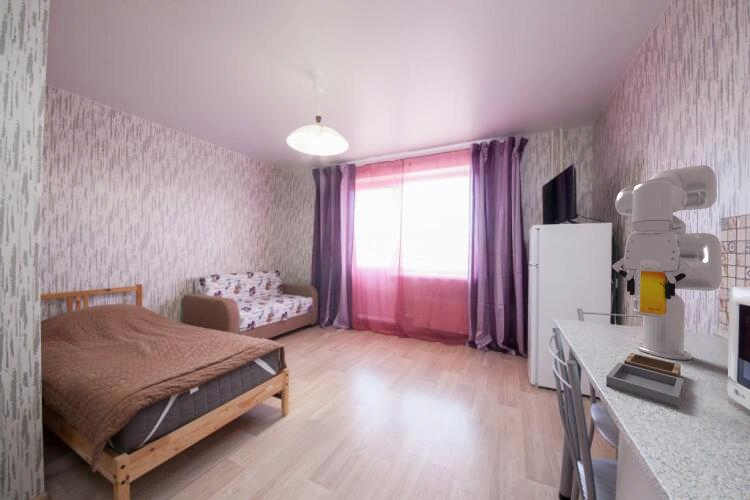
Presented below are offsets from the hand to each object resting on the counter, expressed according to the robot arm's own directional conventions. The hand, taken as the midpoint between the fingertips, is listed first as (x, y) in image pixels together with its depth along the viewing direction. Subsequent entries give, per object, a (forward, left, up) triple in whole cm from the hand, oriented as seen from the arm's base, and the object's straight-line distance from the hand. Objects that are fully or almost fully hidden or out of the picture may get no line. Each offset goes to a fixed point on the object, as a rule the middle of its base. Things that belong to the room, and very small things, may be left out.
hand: (649, 296), depth 70 cm
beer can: (0, 0, -5) cm, 5 cm away
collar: (-7, 0, -22) cm, 23 cm away
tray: (+6, 0, -22) cm, 23 cm away
